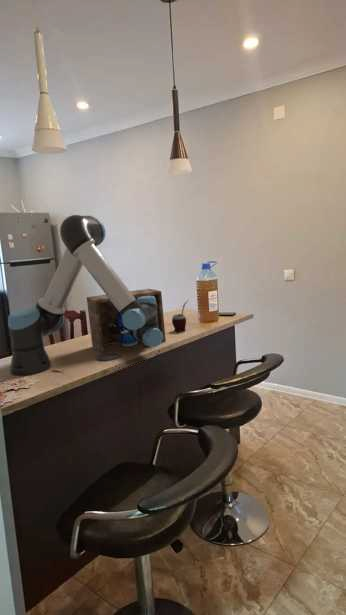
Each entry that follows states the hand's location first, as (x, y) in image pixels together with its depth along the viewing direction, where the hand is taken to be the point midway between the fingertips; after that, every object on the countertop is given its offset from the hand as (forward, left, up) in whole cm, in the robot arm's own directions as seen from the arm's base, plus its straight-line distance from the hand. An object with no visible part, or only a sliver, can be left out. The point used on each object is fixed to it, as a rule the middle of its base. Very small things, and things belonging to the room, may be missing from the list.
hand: (125, 324), depth 190 cm
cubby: (0, -3, -9) cm, 9 cm away
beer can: (0, -3, -9) cm, 10 cm away
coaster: (-14, -18, -9) cm, 24 cm away
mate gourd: (+30, +5, -9) cm, 32 cm away
